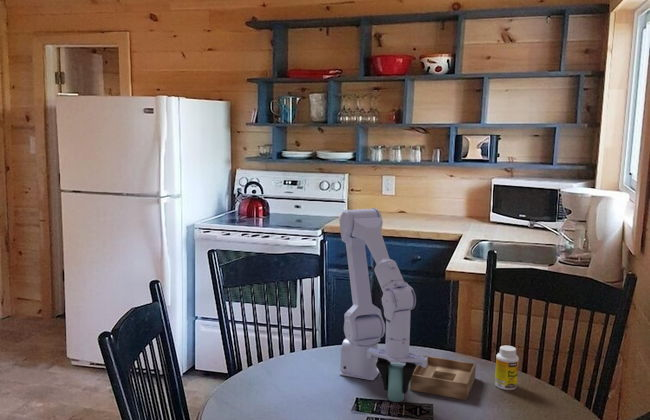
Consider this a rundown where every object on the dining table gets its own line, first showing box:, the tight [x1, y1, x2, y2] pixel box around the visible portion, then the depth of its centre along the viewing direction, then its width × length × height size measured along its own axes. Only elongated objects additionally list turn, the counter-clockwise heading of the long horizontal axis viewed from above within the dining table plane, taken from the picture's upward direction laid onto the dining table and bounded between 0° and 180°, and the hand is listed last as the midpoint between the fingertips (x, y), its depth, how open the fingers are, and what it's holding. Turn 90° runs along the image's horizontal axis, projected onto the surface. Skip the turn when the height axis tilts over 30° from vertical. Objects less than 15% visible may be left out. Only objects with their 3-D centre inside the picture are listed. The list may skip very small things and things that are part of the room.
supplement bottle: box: [494, 345, 520, 391], centre depth 151 cm, size 6×6×10 cm
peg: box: [387, 363, 405, 403], centre depth 144 cm, size 4×4×8 cm
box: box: [409, 355, 477, 401], centre depth 152 cm, size 14×14×4 cm
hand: (396, 390), depth 144 cm, fingers closed on peg, 4 cm apart
